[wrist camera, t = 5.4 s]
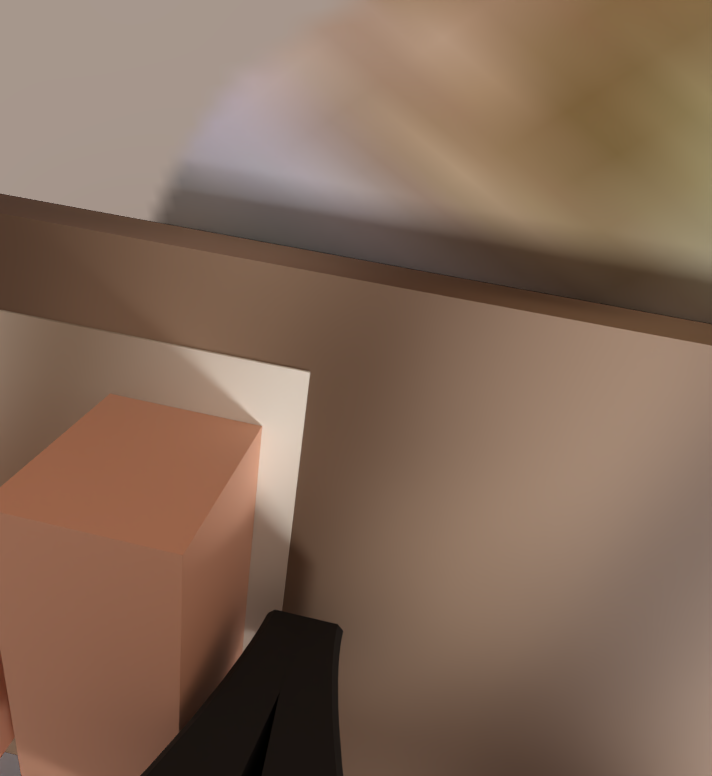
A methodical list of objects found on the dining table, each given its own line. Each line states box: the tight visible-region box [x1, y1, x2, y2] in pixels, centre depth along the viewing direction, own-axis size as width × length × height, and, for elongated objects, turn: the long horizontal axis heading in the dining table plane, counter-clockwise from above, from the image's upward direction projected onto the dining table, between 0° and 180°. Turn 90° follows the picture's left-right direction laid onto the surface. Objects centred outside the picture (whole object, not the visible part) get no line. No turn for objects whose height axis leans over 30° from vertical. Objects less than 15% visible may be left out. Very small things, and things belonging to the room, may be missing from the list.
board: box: [0, 194, 712, 776], centre depth 12 cm, size 20×13×1 cm, turn 83°
